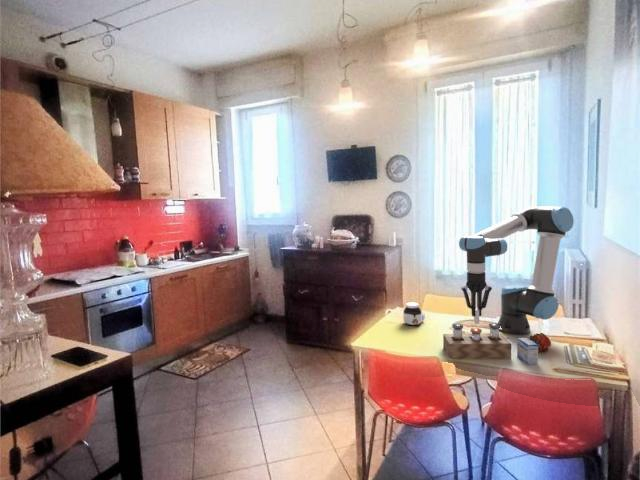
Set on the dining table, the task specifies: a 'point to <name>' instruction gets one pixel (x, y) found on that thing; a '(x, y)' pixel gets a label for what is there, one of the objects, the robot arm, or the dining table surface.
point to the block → (477, 347)
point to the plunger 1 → (457, 331)
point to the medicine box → (527, 351)
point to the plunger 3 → (494, 331)
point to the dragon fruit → (541, 341)
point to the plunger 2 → (475, 334)
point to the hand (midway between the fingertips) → (476, 323)
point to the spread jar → (413, 314)
